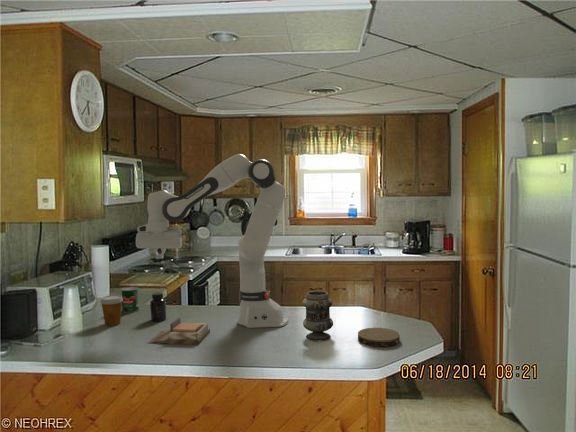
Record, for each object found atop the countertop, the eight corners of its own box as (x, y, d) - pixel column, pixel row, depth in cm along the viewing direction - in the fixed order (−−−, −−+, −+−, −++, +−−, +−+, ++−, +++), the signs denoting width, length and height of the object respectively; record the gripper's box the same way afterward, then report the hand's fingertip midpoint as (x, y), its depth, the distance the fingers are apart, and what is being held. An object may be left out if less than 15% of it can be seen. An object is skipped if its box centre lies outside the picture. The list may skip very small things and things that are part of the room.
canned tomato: (123, 313, 233) (122, 291, 232) (120, 309, 240) (120, 287, 239) (140, 311, 237) (139, 289, 236) (137, 307, 244) (136, 286, 243)
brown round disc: (350, 343, 187) (350, 335, 187) (368, 332, 200) (368, 325, 200) (389, 351, 178) (389, 343, 178) (405, 339, 191) (405, 331, 191)
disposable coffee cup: (128, 321, 219) (127, 295, 219) (114, 327, 210) (113, 300, 210) (111, 320, 223) (110, 294, 222) (96, 326, 214) (95, 299, 213)
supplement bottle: (168, 317, 225) (167, 292, 224) (163, 321, 218) (162, 295, 217) (154, 317, 226) (153, 291, 225) (148, 321, 219) (147, 295, 218)
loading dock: (210, 334, 202) (209, 322, 202) (199, 347, 187) (198, 334, 187) (161, 333, 205) (160, 321, 204) (146, 345, 190) (145, 332, 190)
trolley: (201, 332, 198) (201, 318, 197) (194, 338, 190) (194, 324, 189) (178, 331, 199) (178, 318, 199) (170, 337, 191) (170, 323, 191)
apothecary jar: (317, 330, 202) (316, 287, 201) (339, 337, 194) (339, 292, 192) (296, 337, 194) (296, 293, 193) (319, 344, 185) (318, 297, 184)
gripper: (184, 226, 214) (185, 257, 215) (139, 226, 217) (140, 257, 218) (179, 227, 208) (180, 259, 209) (133, 227, 211) (134, 259, 212)
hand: (159, 258), depth 213 cm, fingers closed
